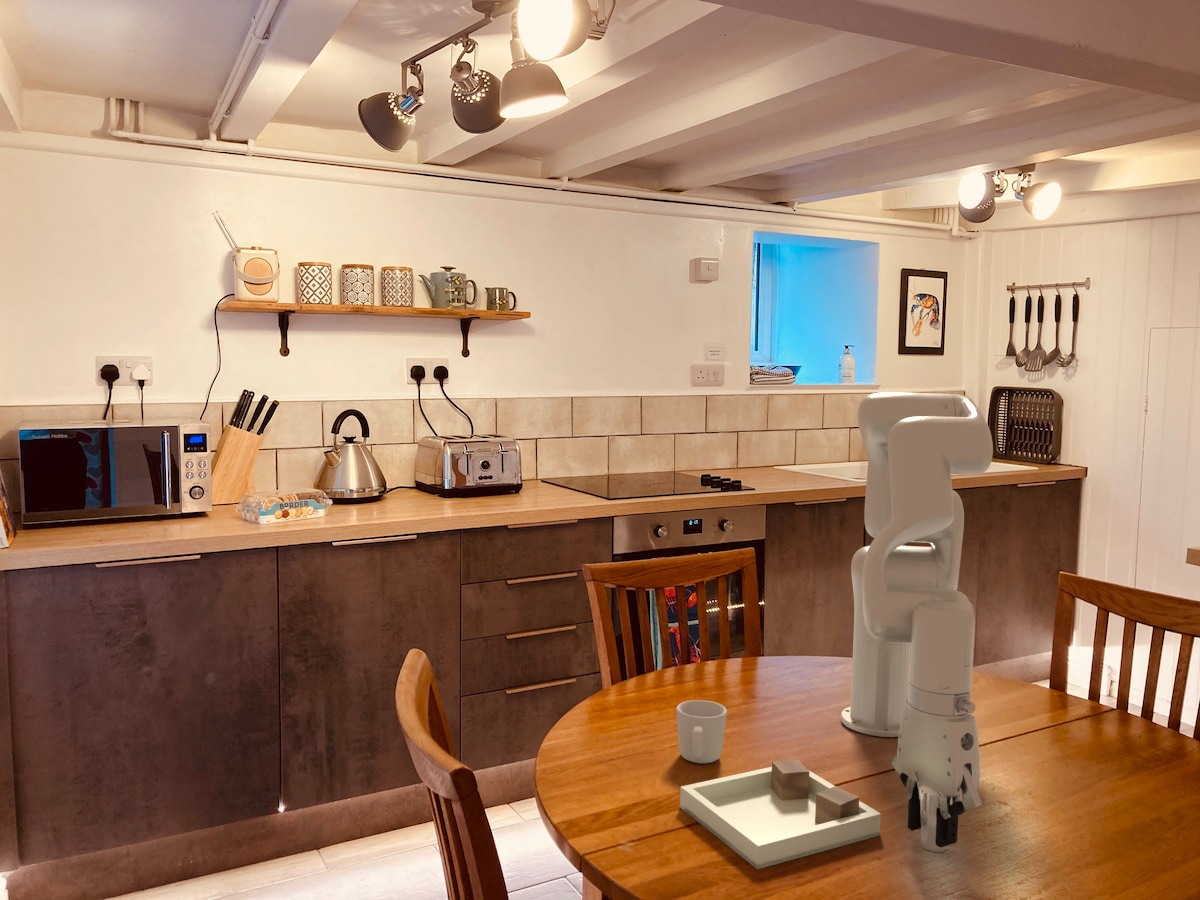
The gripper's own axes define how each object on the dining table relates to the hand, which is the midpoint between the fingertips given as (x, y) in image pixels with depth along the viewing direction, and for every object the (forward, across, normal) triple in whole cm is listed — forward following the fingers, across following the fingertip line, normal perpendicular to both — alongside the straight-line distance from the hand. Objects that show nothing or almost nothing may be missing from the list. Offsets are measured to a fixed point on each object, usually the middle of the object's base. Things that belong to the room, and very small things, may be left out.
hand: (931, 834), depth 122 cm
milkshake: (+2, 0, 0) cm, 2 cm away
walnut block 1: (+1, +19, +8) cm, 21 cm away
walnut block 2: (+1, +9, +8) cm, 12 cm away
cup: (+2, +35, +13) cm, 37 cm away
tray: (+2, +14, +14) cm, 20 cm away
